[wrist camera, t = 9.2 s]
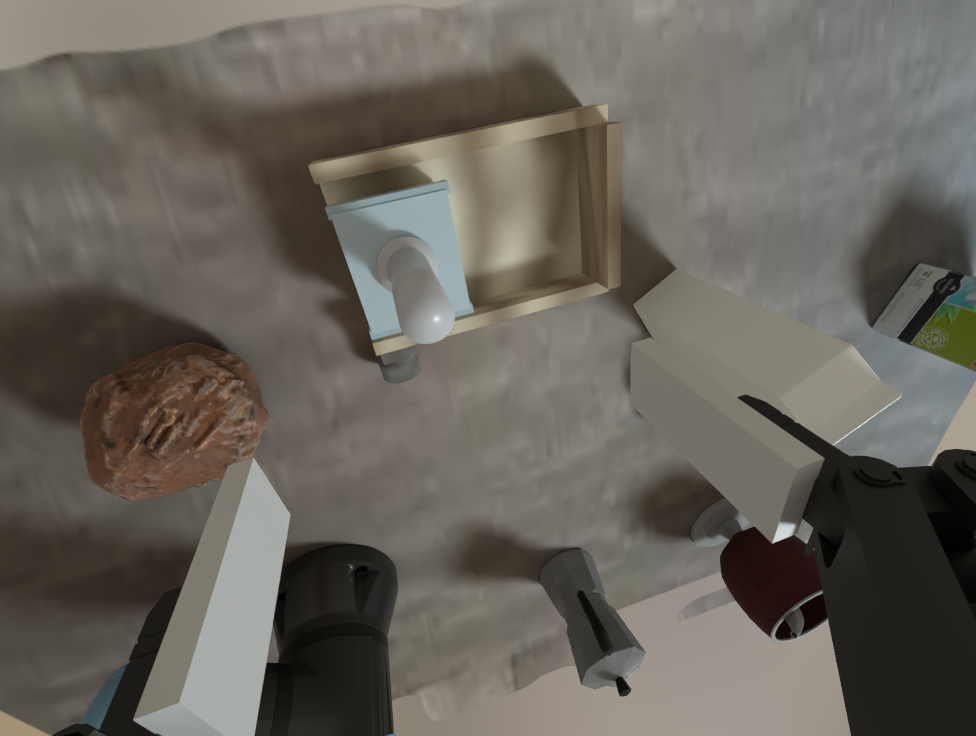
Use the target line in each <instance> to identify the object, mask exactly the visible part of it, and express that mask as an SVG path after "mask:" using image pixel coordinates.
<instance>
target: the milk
mask: <svg viewBox="0 0 976 736" xmlns="http://www.w3.org/2000/svg"><path fill="white" fill-rule="evenodd" d="M633 306H634V308H635V310H636V311H637V313H638V315H639V316H640V318H641V320H642V321H643V323H644V325H645V326H646V328H647V330H648V331H649V333H650V335H651V336H652V338H653V339H654V340H655V341H656V342H658V343H659V344H661V345H662V346H664V347H665V348H666V349H668V350H669V351H671V352H672V353H673V354H675V355H676V356H678V357H679V358H680V359H682V360H683V361H685V362H686V363H688V364H689V365H691V366H692V367H693V368H695V369H696V370H698V371H699V372H701V373H702V374H704V375H705V376H706V377H708V378H709V379H711V380H712V381H714V382H715V383H717V384H718V385H719V386H721V387H722V388H724V389H725V390H727V391H728V392H730V393H731V394H732V395H734V396H735V397H739V396H742V395H745V394H746V395H749V396H752V397H754V398H757V399H760V400H763V401H765V402H767V403H769V404H770V405H772V406H773V407H775V408H776V409H778V410H779V411H781V413H782V414H785V415H787V416H788V417H790V418H791V419H793V420H794V421H795V423H799V424H801V425H802V426H804V427H805V428H807V429H808V430H810V431H811V432H813V433H814V434H816V435H817V436H819V437H820V438H822V439H824V440H825V441H827V442H828V443H830V444H831V445H834V444H836V443H837V442H839V441H840V440H841V439H843V438H844V437H846V436H847V435H848V434H850V433H851V432H853V431H854V430H855V429H857V428H858V427H860V426H861V425H863V424H864V423H865V422H867V421H868V420H870V419H871V418H872V417H874V416H875V415H877V414H878V413H879V412H881V411H882V410H884V409H885V408H886V407H888V406H889V405H891V404H892V403H893V402H895V401H896V400H898V399H899V398H900V397H901V396H902V392H901V391H900V390H898V389H896V388H894V387H892V386H890V385H888V384H886V383H884V382H882V381H881V380H880V379H879V378H878V376H877V375H876V374H875V373H874V371H873V370H872V369H871V368H870V366H869V365H868V364H867V363H866V362H865V360H864V359H863V358H862V357H861V355H860V354H859V353H858V352H857V350H856V349H855V348H854V347H853V346H852V345H851V344H848V343H846V342H844V341H842V340H839V339H837V338H835V337H832V336H830V335H828V334H825V333H823V332H821V331H819V330H816V329H814V328H812V327H809V326H807V325H805V324H803V323H800V322H798V321H796V320H793V319H791V318H789V317H787V316H784V315H782V314H780V313H777V312H775V311H773V310H771V309H768V308H766V307H764V306H761V305H759V304H757V303H755V302H752V301H750V300H748V299H745V298H743V297H741V296H739V295H736V294H734V293H732V292H729V291H727V290H725V289H723V288H720V287H718V286H716V285H713V284H711V283H709V282H706V281H704V280H702V279H700V278H697V277H695V276H693V275H690V274H688V273H686V272H684V271H681V270H679V269H676V270H674V271H673V272H672V273H671V274H669V275H668V276H667V277H666V278H665V279H663V280H662V281H661V282H660V283H659V284H657V285H656V286H655V287H654V288H652V289H651V290H650V291H649V292H648V293H646V294H645V295H644V296H643V297H641V298H640V299H639V300H638V301H637V302H635V303H634V304H633Z"/></svg>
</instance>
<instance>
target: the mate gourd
mask: <svg viewBox="0 0 976 736" xmlns="http://www.w3.org/2000/svg"><path fill="white" fill-rule="evenodd" d="M749 522H750V521H749V520H748V519H747V518H746V517H745V516H744V515H743V514H742V513H741V512H740V511H739V510H737V509H736V508H735V507H734V506H733V505H732V504H731V503H730V502H729V501H728V500H727V499H726V498H723V499H721V500H719V501H717V502H715V503H714V504H712V505H711V506H710V507H708V508H707V509H706V510H705V511H704V512H703V513H702V514H701V515H700V516H699V517H698V518H697V520H696V521H695V523H694V525H693V527H692V530H691V538H692V540H693V541H694V542H695V543H696V544H697V545H698V546H701V547H712V546H716V545H719V544H721V543H724V542H726V541H727V540H730V541H729V543H728V544H727V545H726V547H725V548H724V550H723V551H722V553H721V556H720V564H721V574H722V578H723V580H724V582H725V584H726V586H727V588H728V589H729V591H730V592H731V594H732V596H733V597H734V599H735V600H736V602H737V603H738V604H739V605H740V607H741V608H742V609H743V610H744V611H745V613H746V614H747V615H748V617H749V618H750V619H751V620H752V621H753V622H754V623H755V624H756V625H757V626H758V627H759V628H760V629H761V630H762V631H763V632H765V633H766V634H767V635H768V636H769V637H771V639H772V640H773V641H774V642H776V643H785V642H789V641H793V640H795V639H798V638H800V637H802V636H805V635H806V634H808V633H810V632H812V631H814V630H815V629H817V628H819V627H820V626H821V625H823V624H824V623H826V622H827V621H828V616H827V611H826V606H825V601H824V596H823V591H822V586H821V581H820V576H819V571H818V566H817V561H816V556H815V551H814V550H813V551H812V553H811V555H810V557H809V556H805V548H806V546H807V544H806V543H804V542H803V541H802V540H800V539H799V538H797V537H796V536H795V535H792V536H790V537H787V538H785V539H783V540H780V541H778V542H775V543H773V544H772V543H771V542H770V541H769V540H768V539H767V538H766V537H765V536H764V535H763V534H762V533H761V532H760V531H759V530H758V529H757V528H756V527H752V528H749V529H747V530H744V531H743V530H742V529H743V528H744V527H745V526H746V525H747V524H748V523H749Z"/></svg>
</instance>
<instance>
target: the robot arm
mask: <svg viewBox="0 0 976 736" xmlns="http://www.w3.org/2000/svg"><path fill="white" fill-rule="evenodd" d="M630 404H631V405H632V406H633V407H634V408H635V409H636V410H637V411H638V412H639V413H640V414H641V415H642V416H643V417H644V418H645V419H646V420H647V421H648V422H649V423H650V424H651V425H652V426H653V427H654V428H655V429H656V430H657V431H658V432H659V433H660V434H661V435H662V436H663V437H664V438H665V439H666V440H667V441H668V442H669V443H670V444H671V445H672V446H673V447H674V448H675V449H676V450H677V451H678V452H679V453H680V454H682V455H683V456H684V457H685V458H686V459H687V460H688V461H689V462H690V463H691V464H692V465H693V466H694V467H695V468H696V469H697V470H698V471H699V472H700V473H701V474H702V475H703V476H704V477H705V478H706V479H707V480H708V481H709V482H710V483H711V484H712V485H713V486H714V487H715V488H716V489H717V490H718V491H719V492H720V493H721V494H722V495H723V496H724V497H725V498H726V499H727V500H728V501H729V502H730V503H731V504H732V505H733V506H734V507H735V508H736V509H737V510H739V511H740V512H741V513H742V514H743V515H744V516H745V517H746V518H747V519H748V520H749V521H750V522H751V523H752V524H753V525H754V526H755V527H756V528H757V529H758V530H759V531H760V532H761V533H762V534H763V535H764V536H765V537H766V538H767V539H768V540H769V541H770V542H771V543H772V544H773V543H775V542H778V541H780V540H783V539H785V538H787V537H790V536H792V535H795V534H797V532H798V529H799V527H800V524H801V521H802V518H803V519H804V520H805V521H806V522H807V523H809V524H810V525H811V526H812V527H813V531H812V533H811V536H810V538H809V541H808V543H807V546H806V548H805V556H809V557H810V555H811V553H812V551H813V548H814V551H815V556H816V561H817V566H818V571H819V576H820V581H821V586H822V591H823V596H824V601H825V606H826V611H827V616H828V621H829V626H830V631H831V636H832V641H833V646H834V651H835V656H836V662H837V667H838V671H839V677H840V682H841V687H842V692H843V696H844V702H845V707H846V712H847V717H848V722H849V726H850V732H851V736H976V452H975V451H971V450H961V449H953V450H945V451H943V452H941V453H940V454H938V456H937V458H936V459H935V461H934V463H933V465H932V466H921V467H904V468H897V467H896V466H894V465H892V464H890V463H888V462H885V461H883V460H881V459H877V458H873V457H868V456H851V457H850V456H848V455H847V454H845V453H843V452H842V451H840V450H839V449H837V448H836V447H834V446H833V445H831V444H830V443H828V442H827V441H825V440H824V439H822V438H820V437H819V436H817V435H816V434H814V433H813V432H811V431H810V430H808V429H807V428H805V427H804V426H802V425H801V424H799V423H795V421H794V420H793V419H791V418H790V417H788V416H787V415H785V414H782V413H781V411H779V410H778V409H776V408H775V407H773V406H772V405H770V404H769V403H767V402H765V401H763V400H760V399H757V398H754V397H752V396H749V395H746V394H745V395H742V396H739V397H735V396H734V395H732V394H731V393H730V392H728V391H727V390H725V389H724V388H722V387H721V386H719V385H718V384H717V383H715V382H714V381H712V380H711V379H709V378H708V377H706V376H705V375H704V374H702V373H701V372H699V371H698V370H696V369H695V368H693V367H692V366H691V365H689V364H688V363H686V362H685V361H683V360H682V359H680V358H679V357H678V356H676V355H675V354H673V353H672V352H670V351H669V350H667V349H666V348H665V347H663V346H662V345H660V344H659V343H657V342H656V341H654V340H653V339H652V338H647V339H644V340H640V341H637V342H634V343H631V376H630ZM289 520H290V513H289V512H288V510H287V509H286V507H285V506H284V504H283V503H282V501H281V499H280V498H279V496H278V495H277V493H276V492H275V490H274V489H273V487H272V485H271V484H270V482H269V481H268V479H267V478H266V476H265V475H264V473H263V471H262V470H261V468H260V467H259V465H258V464H257V462H256V461H255V459H254V458H251V459H248V460H244V461H241V462H238V463H235V464H231V465H228V467H227V470H226V472H225V475H224V478H223V481H222V483H221V486H220V489H219V491H218V494H217V497H216V499H215V502H214V505H213V507H212V510H211V513H210V515H209V518H208V521H207V523H206V526H205V529H204V531H203V534H202V537H201V539H200V542H199V545H198V547H197V550H196V553H195V555H194V558H193V561H192V563H191V566H190V569H189V571H188V574H187V577H186V579H185V582H184V585H183V587H180V588H177V589H174V590H171V591H168V592H165V593H164V595H163V596H162V597H161V599H160V600H159V601H158V603H157V604H156V605H155V607H154V608H153V609H152V611H151V612H150V613H149V615H148V616H147V618H146V621H145V623H144V625H143V628H142V630H141V632H140V635H139V637H138V639H137V640H138V644H135V646H134V649H133V651H132V654H131V656H130V658H129V660H130V663H128V664H126V665H124V666H123V667H121V668H119V669H118V670H117V671H115V672H114V673H113V674H112V675H111V676H110V677H109V678H108V680H107V681H106V682H105V683H104V685H103V686H102V688H101V689H100V691H99V692H98V694H97V696H96V697H95V699H94V700H93V702H92V704H91V705H90V707H89V708H88V710H87V712H86V713H85V715H84V717H83V718H82V720H81V722H80V723H79V724H74V725H72V726H69V727H67V728H65V729H63V730H61V731H59V732H57V733H56V734H54V735H53V736H396V735H395V734H394V727H393V712H392V698H391V684H390V670H389V656H388V641H387V635H388V631H389V627H390V622H391V618H392V614H393V610H394V606H395V602H396V598H397V593H398V581H397V572H396V568H395V565H394V563H393V562H392V561H391V560H390V558H388V557H387V556H386V555H385V554H383V553H381V552H379V551H377V550H375V549H372V548H368V547H363V546H354V545H343V546H334V547H328V548H324V549H320V550H317V551H314V552H311V553H309V554H306V555H304V556H302V557H300V558H298V559H297V560H295V561H294V562H292V563H291V564H289V565H288V566H287V567H286V568H285V569H284V570H283V571H282V572H281V570H282V563H283V557H284V551H285V545H286V539H287V533H288V527H289ZM272 625H273V626H274V631H275V636H276V641H277V646H278V651H279V659H278V663H266V662H267V655H268V649H269V643H270V637H271V631H272Z"/></svg>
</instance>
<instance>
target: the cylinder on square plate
mask: <svg viewBox="0 0 976 736" xmlns="http://www.w3.org/2000/svg"><path fill="white" fill-rule="evenodd" d="M449 193H450V190H449V185H448V181H447V180H440V181H436V182H431V183H427V184H422V185H418V186H413V187H409V188H404V189H400V190H395V191H390V192H386V193H381V194H377V195H372V196H368V197H363V198H359V199H354V200H350V201H345V202H341V203H336V204H332V205H327V206H325V211H326V214H327V216H328V219H329V221H330V220H332V222H333V225H334V227H335V230H336V233H337V236H338V239H339V241H340V244H341V247H342V250H343V253H344V256H345V258H346V261H347V264H348V267H349V270H350V272H351V275H352V278H353V281H354V284H355V286H356V289H357V292H358V295H359V298H360V301H361V303H362V306H363V309H364V312H365V315H366V317H367V320H368V323H369V326H368V328H369V333H370V336H371V339H372V340H374V339H378V338H382V337H385V336H389V335H393V334H396V333H400V332H403V333H404V335H405V336H406V337H407V338H409V339H410V340H412V341H414V342H417V343H421V344H431V343H435V342H438V341H440V340H442V339H443V338H444V337H446V336H447V335H448V334H449V332H450V331H451V329H452V328H453V325H454V322H455V317H459V316H463V315H466V314H470V313H474V310H473V305H472V302H471V301H470V299H469V296H468V291H467V286H466V282H465V277H464V272H463V267H462V262H461V257H460V252H459V247H458V242H457V237H456V232H455V227H454V222H453V218H452V213H451V208H450V203H449V198H448V194H449Z"/></svg>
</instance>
